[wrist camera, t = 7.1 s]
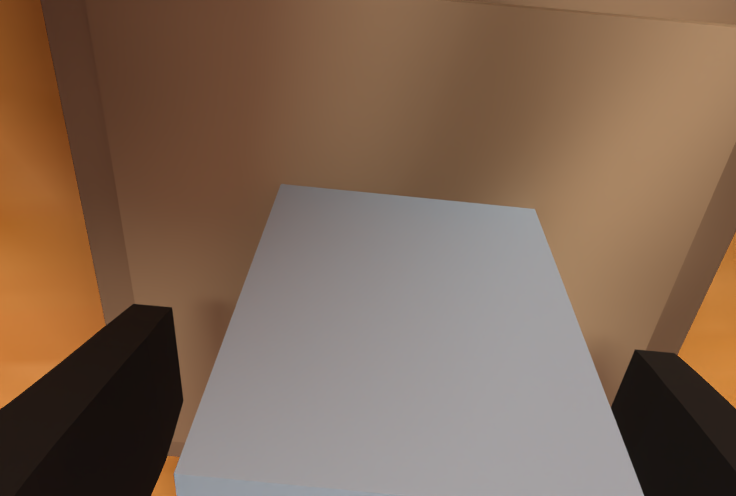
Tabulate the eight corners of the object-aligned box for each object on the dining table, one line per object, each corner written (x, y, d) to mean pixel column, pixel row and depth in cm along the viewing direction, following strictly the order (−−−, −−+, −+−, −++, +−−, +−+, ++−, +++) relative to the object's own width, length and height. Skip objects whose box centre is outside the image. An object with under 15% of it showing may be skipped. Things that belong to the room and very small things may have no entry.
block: (534, 208, 11) (653, 519, 6) (486, 390, 13) (538, 720, 8) (280, 183, 11) (174, 473, 6) (278, 370, 13) (203, 689, 8)
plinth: (783, -44, 10) (865, -22, 9) (590, 431, 17) (613, 502, 15) (81, -108, 10) (12, -100, 9) (158, 392, 17) (128, 459, 15)
